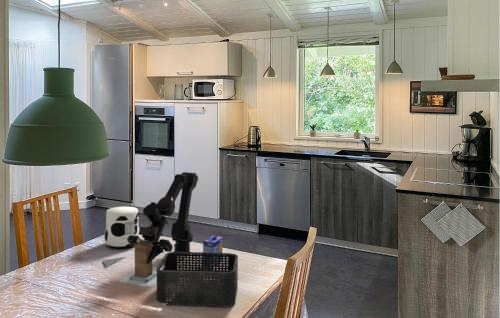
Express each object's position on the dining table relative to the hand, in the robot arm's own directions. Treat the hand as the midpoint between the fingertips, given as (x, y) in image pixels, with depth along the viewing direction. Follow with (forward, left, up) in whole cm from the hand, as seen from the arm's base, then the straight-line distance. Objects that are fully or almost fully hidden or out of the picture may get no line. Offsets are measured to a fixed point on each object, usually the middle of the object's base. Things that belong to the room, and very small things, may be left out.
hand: (141, 262), depth 164 cm
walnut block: (-1, -1, -7) cm, 7 cm away
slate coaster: (+3, -23, -8) cm, 25 cm away
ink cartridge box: (-33, 0, -8) cm, 34 cm away
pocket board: (-1, -1, -8) cm, 8 cm away
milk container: (-7, -47, -8) cm, 48 cm away
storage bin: (-14, +23, -8) cm, 28 cm away
